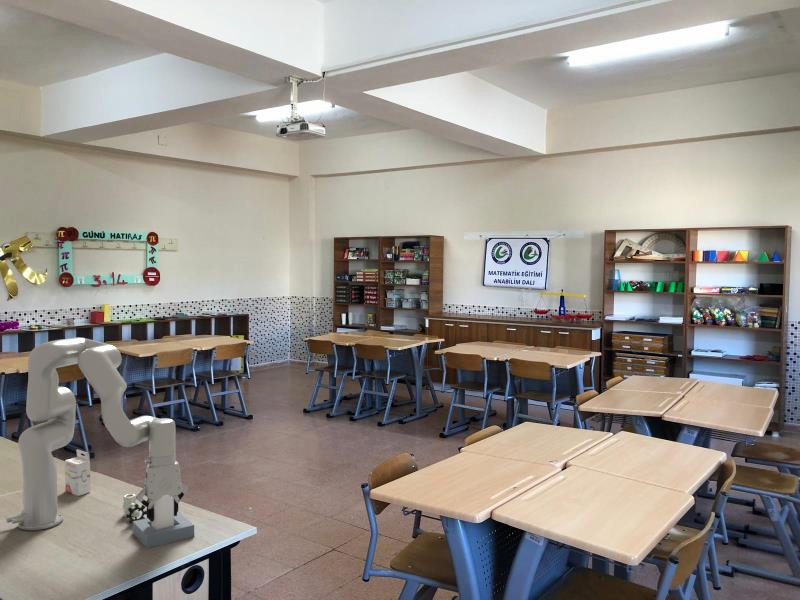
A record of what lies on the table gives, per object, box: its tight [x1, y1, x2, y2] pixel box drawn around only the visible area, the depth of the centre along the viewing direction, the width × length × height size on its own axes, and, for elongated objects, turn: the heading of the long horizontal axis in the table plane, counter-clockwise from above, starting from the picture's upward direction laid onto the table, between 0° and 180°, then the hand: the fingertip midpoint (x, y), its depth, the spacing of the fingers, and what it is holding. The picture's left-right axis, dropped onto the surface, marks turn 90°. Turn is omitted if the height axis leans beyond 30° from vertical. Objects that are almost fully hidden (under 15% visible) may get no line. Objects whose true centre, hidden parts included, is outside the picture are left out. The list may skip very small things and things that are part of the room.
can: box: [151, 495, 174, 530], centre depth 200 cm, size 6×6×12 cm
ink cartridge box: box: [64, 449, 91, 497], centre depth 236 cm, size 9×5×15 cm, turn 57°
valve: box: [122, 493, 147, 525], centre depth 212 cm, size 7×7×12 cm
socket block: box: [132, 511, 195, 549], centre depth 200 cm, size 14×14×4 cm
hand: (162, 516), depth 200 cm, fingers closed on can, 6 cm apart
